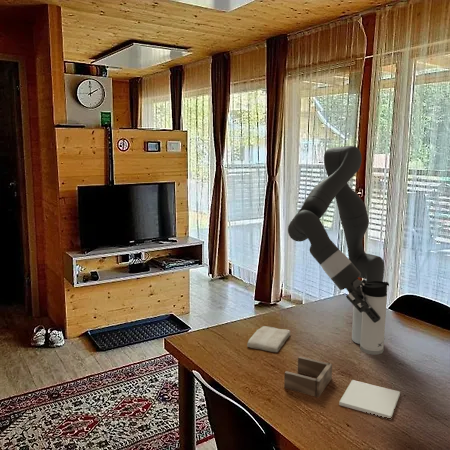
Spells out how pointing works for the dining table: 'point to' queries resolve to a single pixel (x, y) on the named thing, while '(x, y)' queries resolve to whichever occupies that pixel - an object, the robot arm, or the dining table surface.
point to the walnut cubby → (308, 383)
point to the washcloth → (268, 338)
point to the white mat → (370, 399)
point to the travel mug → (369, 330)
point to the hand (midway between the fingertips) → (380, 316)
